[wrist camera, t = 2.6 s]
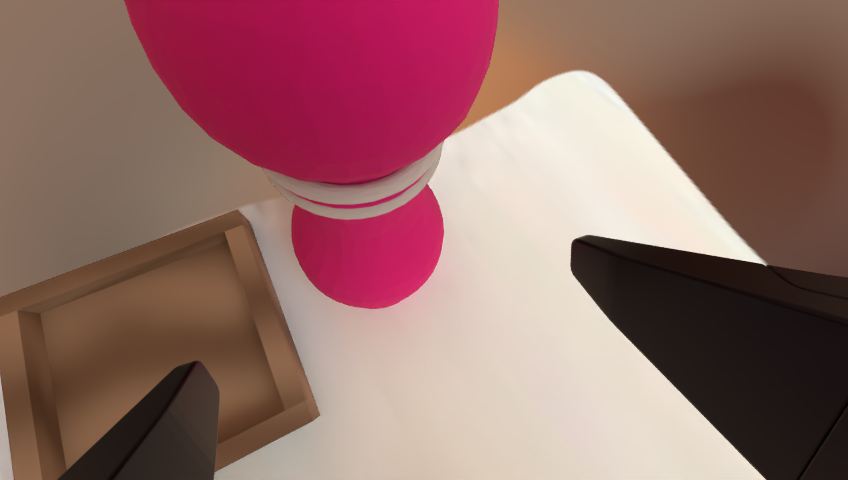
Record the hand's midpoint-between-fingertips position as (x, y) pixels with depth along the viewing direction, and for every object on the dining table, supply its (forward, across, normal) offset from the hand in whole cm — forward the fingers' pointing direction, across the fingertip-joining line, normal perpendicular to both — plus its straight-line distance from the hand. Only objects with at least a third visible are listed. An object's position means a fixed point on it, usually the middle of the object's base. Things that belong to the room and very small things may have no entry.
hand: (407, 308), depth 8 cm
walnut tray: (+11, +12, +7) cm, 17 cm away
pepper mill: (+12, 0, +6) cm, 14 cm away
